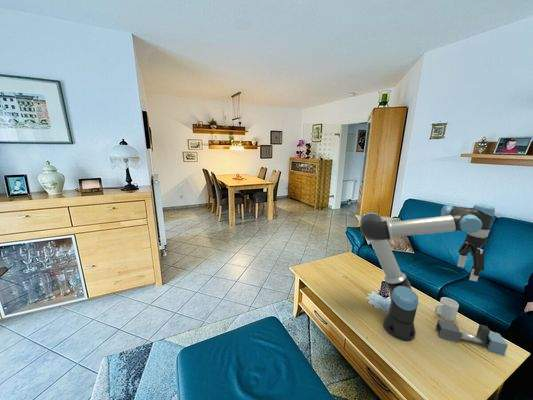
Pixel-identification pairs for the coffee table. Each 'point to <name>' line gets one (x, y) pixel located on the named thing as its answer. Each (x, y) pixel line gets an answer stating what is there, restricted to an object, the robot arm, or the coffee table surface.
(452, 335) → the grey metal block
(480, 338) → the grey piece
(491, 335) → the socket
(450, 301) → the cup
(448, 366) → the coffee table surface
